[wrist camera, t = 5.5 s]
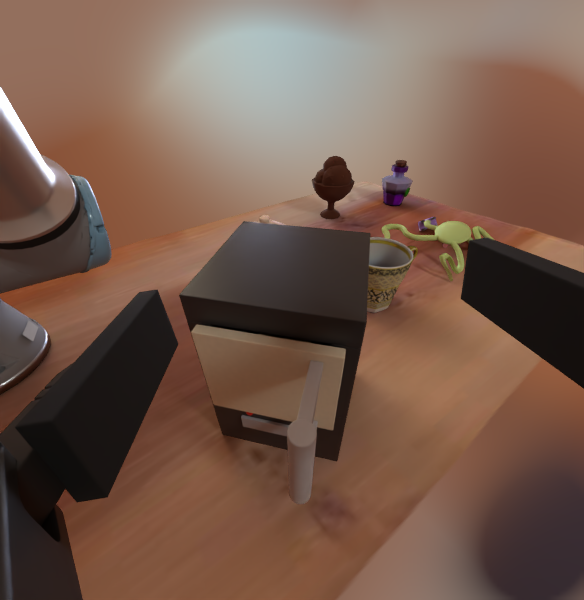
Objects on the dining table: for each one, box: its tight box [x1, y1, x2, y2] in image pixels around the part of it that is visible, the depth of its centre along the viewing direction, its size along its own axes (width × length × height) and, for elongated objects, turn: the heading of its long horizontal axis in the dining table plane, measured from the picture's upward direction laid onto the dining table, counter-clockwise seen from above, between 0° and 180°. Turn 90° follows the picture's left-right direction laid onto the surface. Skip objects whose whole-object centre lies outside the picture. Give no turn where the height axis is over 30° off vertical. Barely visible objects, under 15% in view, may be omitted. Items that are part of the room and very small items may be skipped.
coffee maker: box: [179, 221, 370, 461], centre depth 30 cm, size 14×13×20 cm
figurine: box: [382, 217, 494, 281], centre depth 65 cm, size 18×27×6 cm
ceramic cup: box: [367, 237, 418, 313], centre depth 49 cm, size 13×10×10 cm
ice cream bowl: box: [312, 156, 354, 219], centre depth 78 cm, size 11×11×15 cm
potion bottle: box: [382, 160, 413, 206], centre depth 86 cm, size 9×9×12 cm
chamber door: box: [191, 324, 346, 504], centre depth 21 cm, size 7×11×9 cm, turn 77°
